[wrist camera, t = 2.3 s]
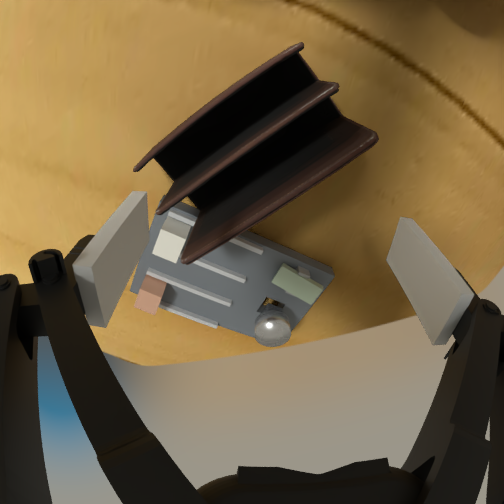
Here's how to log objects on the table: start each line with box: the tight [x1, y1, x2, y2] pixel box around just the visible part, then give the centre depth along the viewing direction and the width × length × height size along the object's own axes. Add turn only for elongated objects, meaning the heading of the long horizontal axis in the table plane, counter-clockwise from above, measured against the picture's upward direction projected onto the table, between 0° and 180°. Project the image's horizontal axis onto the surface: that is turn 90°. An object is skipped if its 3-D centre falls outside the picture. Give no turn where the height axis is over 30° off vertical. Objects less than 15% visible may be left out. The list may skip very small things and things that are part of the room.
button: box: [255, 303, 291, 347], centre depth 42 cm, size 5×5×5 cm
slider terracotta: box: [134, 274, 167, 315], centre depth 41 cm, size 3×4×3 cm
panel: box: [130, 195, 335, 338], centre depth 42 cm, size 24×15×4 cm, turn 64°
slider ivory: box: [152, 216, 191, 263], centre depth 36 cm, size 3×4×3 cm
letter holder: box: [133, 42, 379, 265], centre depth 28 cm, size 10×20×14 cm, turn 126°
